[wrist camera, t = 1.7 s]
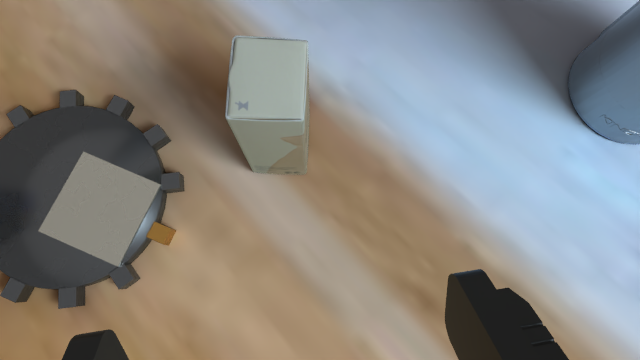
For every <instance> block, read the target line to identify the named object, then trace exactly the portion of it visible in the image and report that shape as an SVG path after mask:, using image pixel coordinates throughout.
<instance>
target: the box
mask: <svg viewBox="0 0 640 360" xmlns="http://www.w3.org/2000/svg"><path fill="white" fill-rule="evenodd" d="M225 118H226V120H227V122H228V124H229V126H230V128H231V130H232V132H233V134H234V136H235V138H236V140H237V142H238V144H239V146H240V148H241V150H242V152H243V153H244V156H245V157H246V159H247V161H248V163H249V165H250V167H251V169H252V171H253V172H256V173H269V174H293V175H294V174H297V175H298V174H299V175H300V174H301V175H303V174H306V172H307V158H308V139H309V69H308V41H306V40H297V39H284V38H269V37H256V36H235V37H234V38H233V40H232V47H231V55H230V65H229V76H228V87H227V100H226V113H225Z"/></svg>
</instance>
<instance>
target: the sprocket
mask: <svg viewBox="0 0 640 360" xmlns="http://www.w3.org/2000/svg"><path fill="white" fill-rule="evenodd" d="M133 109H134V106H133V105H132V104H131V103H130V102H129V101H127V100H125V99H122V98H120V97H118V96H115V95H114V97H113V99H112V100H111V102H110V104H109V106H108V107H107V109H106V110H104V109H100V108H95V107H88V106H84V96H83V95H82V94H80V93H79V92H78V91H77V90H70V91H61V92H60V108H56V109H52V110H49V111H45V112H43V113H40V114H38V115H35V116H34V115H33V114H32V112H31V111H30V110H28V109H26V108H25V107H23V106H21V105H20V106H19V107H17V108H15V109H14V110H12V111H11V112H9V113H7V116H8V117H9V119H10V120H11V122H12V123H13V125H14V127H15V128H14V129H12V130H11V131H10V132H9V133H8V134H7V135H5V136H4V137H3V138H2V139H1V140H0V270H1V271H2V272H3V273H5V274H6V275H7V276H9V277H10V279H9V281H8V283H7V284H6V286H5V288H4V290H3V291H2V293H1V295H0V296H2V297H4V298H6V299H9V300H11V301H13V302H15V303H16V302H26V301H27V300H28V298H29V296H30V294H31V292H32V291H33V289H34V287H38V288H46V289H59V298H58V309H60V308H69V307H76V306H84V305H85V286H89V285H92V284H95V283H98V282H101V281H103V280H106V279H108V278H110V277H111V278H112V279H113V281H114V282H115V284H116V286H117V287H118V289H127V288H128V287H129V286H131V285H132V284H134V283H135V282H136V281H138V280H139V279H140V277H139V276H138V274H137V273H136V271H135V270H134V268H133V267H132V265H131V263H132V262H133V261H134V260H135V259H136V258H137V257H138V256H139V255H140V254H141V253H142V252H143V251H144V250H145V248H146V247H147V246H148V244H149V243H150V242H151V240H155V241H157V242H159V243H162V244H164V245H169V244H170V242H171V240H172V238H173V236H174V234H175V232H176V230H174V229H171V228H169V227H167V226H164V225H162V224H160V222H161V220H162V217H163V213H164V210H165V204H166V198H167V193H173V192H181V191H184V176H183V175H182V174H180V173H179V172H176V173H168V174H165V171H164V167H163V163H162V161H161V158H160V156H159V154H158V152H157V150H159V149H160V148H162V147H163V146H165V145H166V144H168V143H169V142H170V141H171V140H170V138H169V137H168V136H167V134H166V133H165V131H164V130H163V129H162V128H161V127H160V126H159V125H158V124H157V125H155V126H154V127H152V128H151V129H149V130H148V131H146V132H145V133H142V132H141V131H140V130H139V129H138V128H136V127H135V126H134V125H133V124H132V123H130V122H129V121H127V120H128V118H129V116H130V114H131V112H132V111H133Z"/></svg>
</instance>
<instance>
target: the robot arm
mask: <svg viewBox="0 0 640 360" xmlns="http://www.w3.org/2000/svg"><path fill="white" fill-rule="evenodd" d="M568 86H569V92H570V97H571V100H572V103H573V105H574V108H575V109H576V111H577V112H578V114H579V116H580V117H581V118H582V119H583V120H584V122H585V123H586V124H587V125H588V126H589V127H590V128H592V129H593V130H594V131H596V132H597V133H598V134H600V135H602V136H604V137H606V138H608V139H610V140H613V141H616V142H620V143H625V144H640V0H639V1H638V2H637V3H636V4H635V5H633V6H632V7H631V8H630V9H629V10H627V11H626V12H625V13H624V14H623V15H622V16H620V17H619V18H618V19H617V20H616V21H614V22H613V23H612V24H611V25H610V26H609V27H607V28H606V29H605V30H604V31H603V32H602V33H601V35H600V37H599V38H598V39H597V40H595V41H594V42H593V43H592V44H591V45H590V46H588V47H587V48H586V49H585V50H584V51H583V52H582V53H581V54H580V55H578V57H577V58H576V60H575V61H574V63H573V65H572V68H571V71H570V74H569V84H568ZM445 324H446V329H447V333H448V336H449V339H450V342H451V344H452V346H453V348H454V350H455V353H456V355H457V357H458V359H459V360H569V359H568V358H567V356H566V355H565V354H564V352H563V351H562V349H561V348H560V346H559V345H558V344H557V343H555V342H554V338H553V337H552V335H551V334H550V332H549V331H548V330H547V328H546V327H545V326H543V324H542V321H541V320H540V318H539V317H538V315H537V314H536V313H535V311H534V310H533V308H532V307H531V306H530V304H529V303H528V302H527V301H525V300H524V299H523V298H521V297H520V296H519V295H517V294H516V293H515V292H513V291H512V290H511V289H510V288H503V289H497V290H496V288H495V287H494V285H493V283H492V282H491V280H490V279H489V277H488V276H487V274H486V273H485V272H484V271H483V270H481V269H478V270H472V271H466V272H460V273H454V274H450V275H449V278H448V286H447V297H446V308H445ZM62 360H129V359H128V357H127V355H126V353H125V351H124V349H123V347H122V346H121V344H120V342H119V340H118V338H117V336H116V334H115V333H114V332H113V331H112V330H103V331H97V332H91V333H85V334H79V335H76V336H74V337H73V338H72V339H71V341H70V342H69V344H68V347H67V349H66V351H65V354H64V356H63V358H62Z"/></svg>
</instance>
